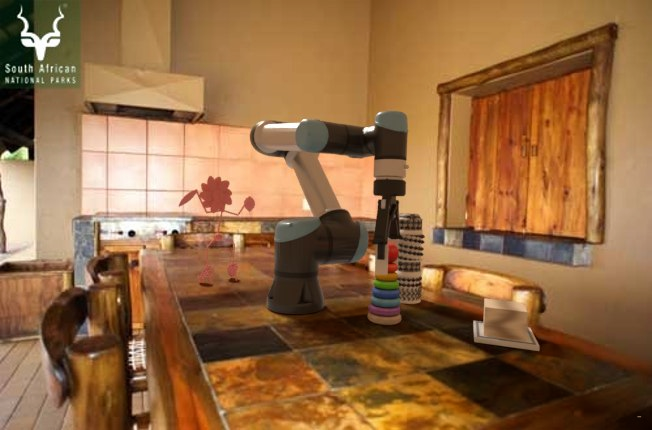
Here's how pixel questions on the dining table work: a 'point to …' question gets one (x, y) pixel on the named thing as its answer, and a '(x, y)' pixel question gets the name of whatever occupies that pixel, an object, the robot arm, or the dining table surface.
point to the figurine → (217, 198)
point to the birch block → (505, 319)
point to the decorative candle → (410, 258)
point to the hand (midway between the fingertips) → (387, 269)
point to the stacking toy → (386, 293)
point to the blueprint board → (505, 339)
